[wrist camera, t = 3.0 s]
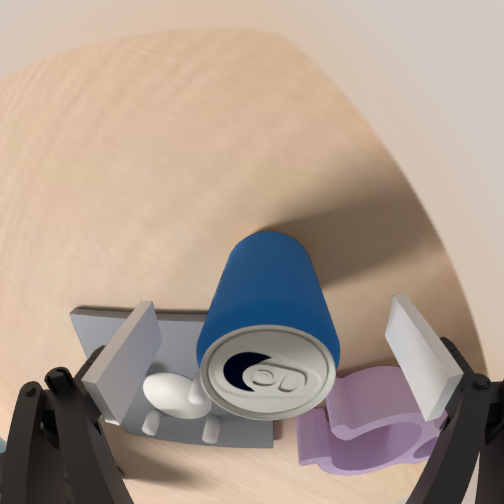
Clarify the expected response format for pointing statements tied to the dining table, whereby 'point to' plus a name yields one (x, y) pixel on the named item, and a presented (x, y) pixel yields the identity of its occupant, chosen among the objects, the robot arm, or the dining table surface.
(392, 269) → the dining table surface
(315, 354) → the beverage can
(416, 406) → the clip
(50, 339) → the dining table surface
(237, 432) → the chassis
